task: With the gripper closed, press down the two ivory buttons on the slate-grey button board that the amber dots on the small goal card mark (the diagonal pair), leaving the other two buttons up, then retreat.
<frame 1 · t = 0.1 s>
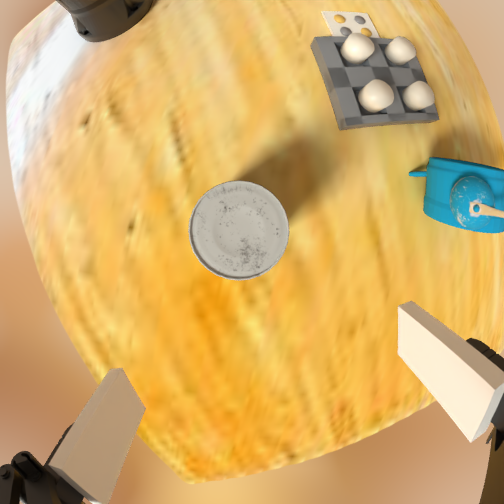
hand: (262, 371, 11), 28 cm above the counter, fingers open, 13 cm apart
speckled white tin can: (240, 219, 38), on the counter
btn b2: (418, 96, 29), point 5 cm above the counter, slide at 0.0 cm
goal card: (351, 27, 31), on the counter
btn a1: (357, 48, 28), point 5 cm above the counter, slide at 0.0 cm
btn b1: (375, 96, 29), point 5 cm above the counter, slide at 0.0 cm
alarm clock: (435, 189, 37), on the counter
button board: (375, 82, 33), on the counter
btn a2: (400, 51, 27), point 5 cm above the counter, slide at 0.0 cm
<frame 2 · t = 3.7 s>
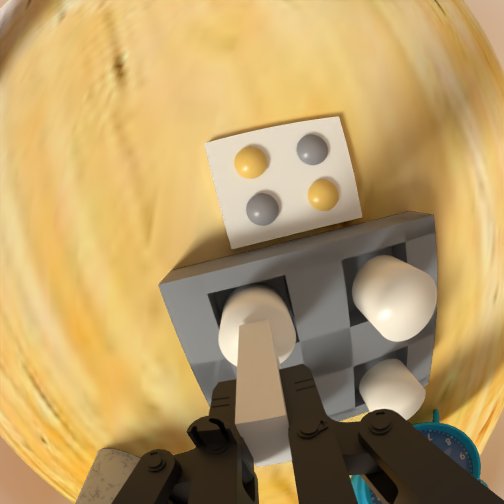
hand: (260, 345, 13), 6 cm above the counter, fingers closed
speckled white tin can: (130, 467, 24), on the counter
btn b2: (391, 393, 15), point 5 cm above the counter, slide at 0.0 cm
goal card: (286, 179, 17), on the counter
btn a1: (256, 325, 15), point 4 cm above the counter, slide at 1.3 cm, touching gripper
alarm clock: (387, 438, 24), on the counter
button board: (317, 334, 20), on the counter
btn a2: (393, 296, 14), point 5 cm above the counter, slide at 0.0 cm
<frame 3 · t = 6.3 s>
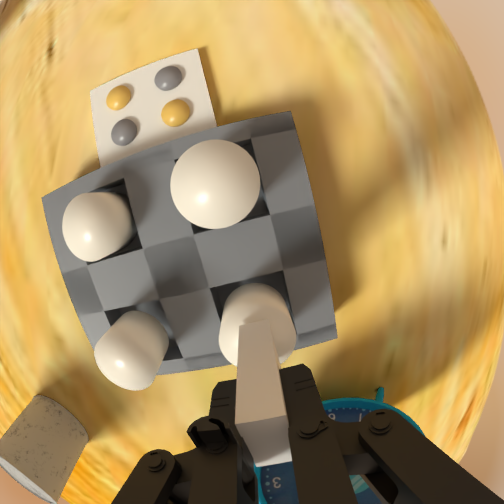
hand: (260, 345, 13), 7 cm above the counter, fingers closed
speckled white tin can: (59, 420, 24), on the counter
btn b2: (256, 325, 15), point 5 cm above the counter, slide at 0.2 cm, touching gripper
goal card: (148, 107, 17), on the counter
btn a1: (101, 223, 15), point 3 cm above the counter, slide at 1.7 cm
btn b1: (132, 349, 15), point 5 cm above the counter, slide at 0.0 cm
alarm clock: (317, 416, 23), on the counter
button board: (185, 257, 19), on the counter
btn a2: (218, 184, 13), point 5 cm above the counter, slide at 0.0 cm
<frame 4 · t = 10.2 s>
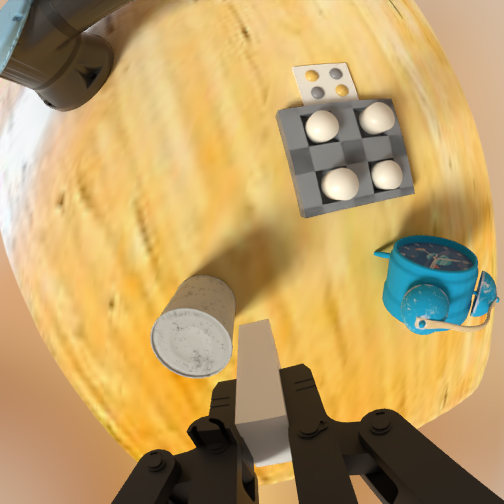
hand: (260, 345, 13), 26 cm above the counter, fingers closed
speckled white tin can: (205, 304, 41), on the counter
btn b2: (385, 175, 34), point 3 cm above the counter, slide at 1.7 cm
goal card: (325, 84, 34), on the counter
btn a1: (320, 127, 33), point 3 cm above the counter, slide at 1.7 cm
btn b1: (339, 184, 33), point 5 cm above the counter, slide at 0.0 cm
alarm clock: (403, 263, 40), on the counter
button board: (346, 154, 36), on the counter
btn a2: (376, 118, 31), point 5 cm above the counter, slide at 0.0 cm
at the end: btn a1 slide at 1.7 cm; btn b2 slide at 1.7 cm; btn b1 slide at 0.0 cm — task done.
